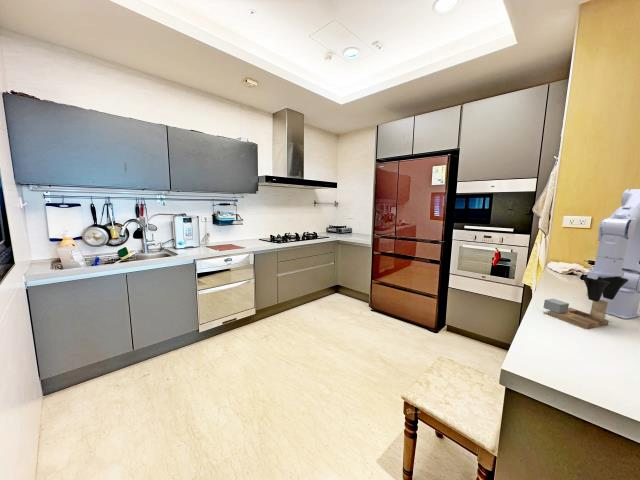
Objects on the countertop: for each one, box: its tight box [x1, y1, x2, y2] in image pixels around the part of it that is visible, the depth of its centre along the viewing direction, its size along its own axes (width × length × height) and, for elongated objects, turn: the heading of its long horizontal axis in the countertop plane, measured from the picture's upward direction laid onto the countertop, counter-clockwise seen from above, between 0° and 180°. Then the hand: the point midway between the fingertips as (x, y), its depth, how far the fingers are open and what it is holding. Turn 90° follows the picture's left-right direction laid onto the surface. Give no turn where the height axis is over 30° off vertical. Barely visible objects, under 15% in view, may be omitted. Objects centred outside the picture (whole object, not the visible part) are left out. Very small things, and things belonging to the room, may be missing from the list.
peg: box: [589, 300, 608, 321], centre depth 81 cm, size 3×3×6 cm
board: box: [548, 307, 610, 330], centre depth 84 cm, size 11×10×2 cm
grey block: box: [543, 298, 570, 313], centre depth 87 cm, size 4×4×3 cm
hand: (600, 299), depth 81 cm, fingers open, 7 cm apart
